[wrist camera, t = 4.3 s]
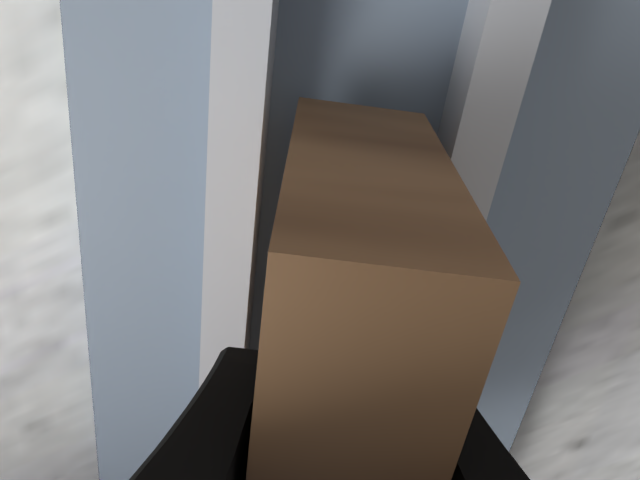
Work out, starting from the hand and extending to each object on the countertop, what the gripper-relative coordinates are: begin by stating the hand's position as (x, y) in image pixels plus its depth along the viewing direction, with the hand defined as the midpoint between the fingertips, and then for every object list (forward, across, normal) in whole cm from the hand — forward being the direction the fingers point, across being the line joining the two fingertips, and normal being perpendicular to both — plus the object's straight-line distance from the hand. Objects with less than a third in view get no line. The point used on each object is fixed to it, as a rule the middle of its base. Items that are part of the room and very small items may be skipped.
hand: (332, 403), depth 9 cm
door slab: (+3, 0, 0) cm, 3 cm away
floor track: (+6, 0, 0) cm, 6 cm away
